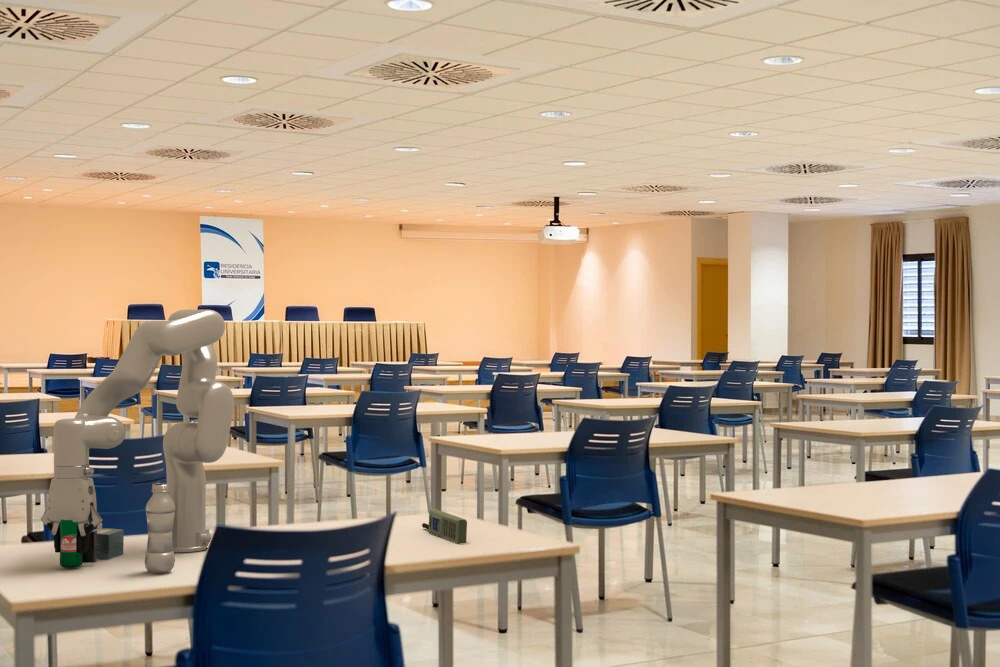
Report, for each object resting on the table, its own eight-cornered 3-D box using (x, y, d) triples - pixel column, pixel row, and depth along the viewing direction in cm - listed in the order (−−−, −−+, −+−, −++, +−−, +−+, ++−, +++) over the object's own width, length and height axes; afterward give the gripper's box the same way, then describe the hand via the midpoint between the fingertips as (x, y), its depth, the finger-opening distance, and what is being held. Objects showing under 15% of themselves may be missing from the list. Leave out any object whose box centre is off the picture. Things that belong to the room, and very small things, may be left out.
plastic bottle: (163, 568, 256) (164, 481, 256) (180, 572, 252) (181, 483, 252) (138, 572, 251) (139, 484, 251) (155, 577, 247) (156, 486, 247)
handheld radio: (456, 545, 288) (417, 530, 310) (467, 545, 290) (428, 529, 312) (457, 519, 288) (419, 506, 310) (468, 519, 290) (429, 505, 312)
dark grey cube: (108, 559, 265) (108, 534, 265) (81, 558, 267) (81, 533, 267) (123, 554, 272) (123, 529, 272) (96, 553, 273) (97, 528, 273)
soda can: (58, 569, 252) (58, 516, 252) (60, 564, 257) (60, 512, 257) (82, 567, 254) (82, 515, 254) (84, 563, 259) (84, 511, 258)
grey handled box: (93, 562, 258) (94, 529, 258) (62, 561, 259) (62, 527, 259) (115, 554, 267) (115, 522, 267) (84, 553, 269) (84, 521, 269)
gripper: (114, 471, 258) (114, 550, 258) (46, 469, 260) (46, 547, 260) (97, 475, 250) (97, 556, 250) (27, 474, 253) (27, 554, 253)
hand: (71, 551), depth 255 cm, fingers closed on soda can, 5 cm apart
